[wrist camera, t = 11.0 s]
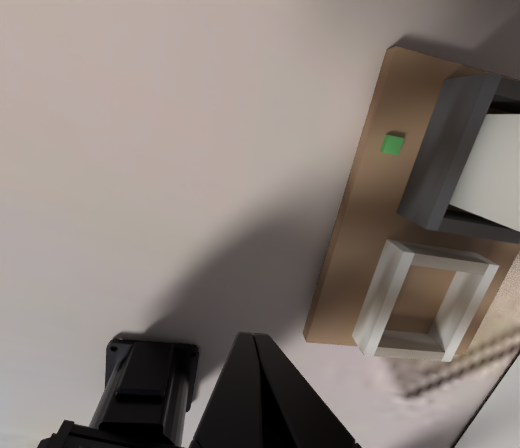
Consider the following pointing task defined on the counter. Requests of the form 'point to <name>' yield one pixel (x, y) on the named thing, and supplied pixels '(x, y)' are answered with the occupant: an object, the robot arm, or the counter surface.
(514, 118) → the plug
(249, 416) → the robot arm
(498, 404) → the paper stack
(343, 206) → the brown board with frames
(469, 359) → the counter surface
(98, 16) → the counter surface
